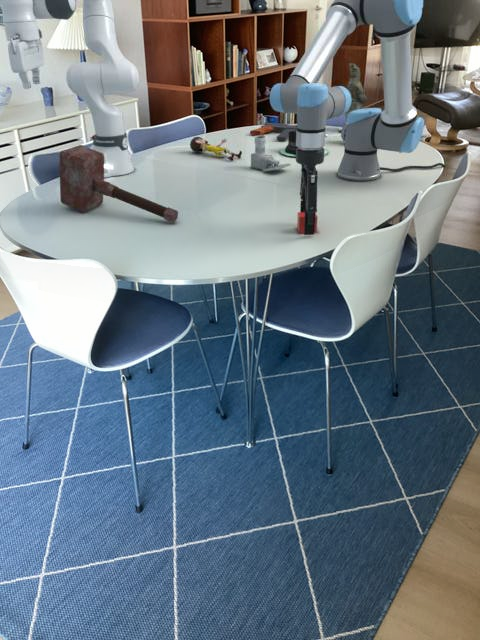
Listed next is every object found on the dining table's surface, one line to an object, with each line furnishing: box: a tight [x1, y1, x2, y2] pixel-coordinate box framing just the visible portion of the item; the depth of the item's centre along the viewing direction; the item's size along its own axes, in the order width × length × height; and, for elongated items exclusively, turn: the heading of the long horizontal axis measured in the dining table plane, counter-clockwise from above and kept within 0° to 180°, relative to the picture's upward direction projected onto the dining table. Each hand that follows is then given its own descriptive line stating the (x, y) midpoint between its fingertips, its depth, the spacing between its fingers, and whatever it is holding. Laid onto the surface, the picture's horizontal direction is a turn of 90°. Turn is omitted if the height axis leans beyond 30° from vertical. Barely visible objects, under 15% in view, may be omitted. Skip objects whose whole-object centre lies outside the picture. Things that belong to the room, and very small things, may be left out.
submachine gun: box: [249, 122, 297, 141], centre depth 263 cm, size 32×3×25 cm
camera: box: [250, 134, 292, 173], centre depth 210 cm, size 9×12×15 cm
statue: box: [344, 62, 368, 123], centre depth 262 cm, size 11×9×30 cm
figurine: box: [189, 136, 243, 162], centre depth 232 cm, size 13×8×25 cm
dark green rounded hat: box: [279, 129, 328, 157], centre depth 234 cm, size 15×19×20 cm
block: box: [296, 211, 318, 234], centre depth 157 cm, size 4×5×5 cm
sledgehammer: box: [59, 144, 179, 223], centre depth 170 cm, size 17×10×40 cm
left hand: (32, 86), depth 163 cm, fingers open, 8 cm apart
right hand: (306, 228), depth 158 cm, fingers open, 9 cm apart
